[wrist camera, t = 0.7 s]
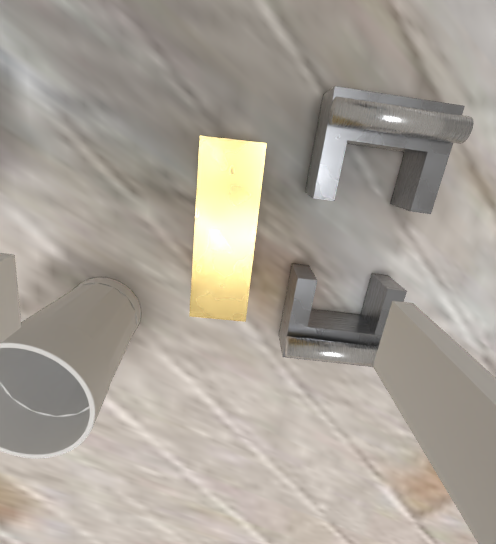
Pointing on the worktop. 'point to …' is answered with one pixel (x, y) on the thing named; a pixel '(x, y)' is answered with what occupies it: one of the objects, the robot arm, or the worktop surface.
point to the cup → (63, 368)
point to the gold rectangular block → (225, 226)
